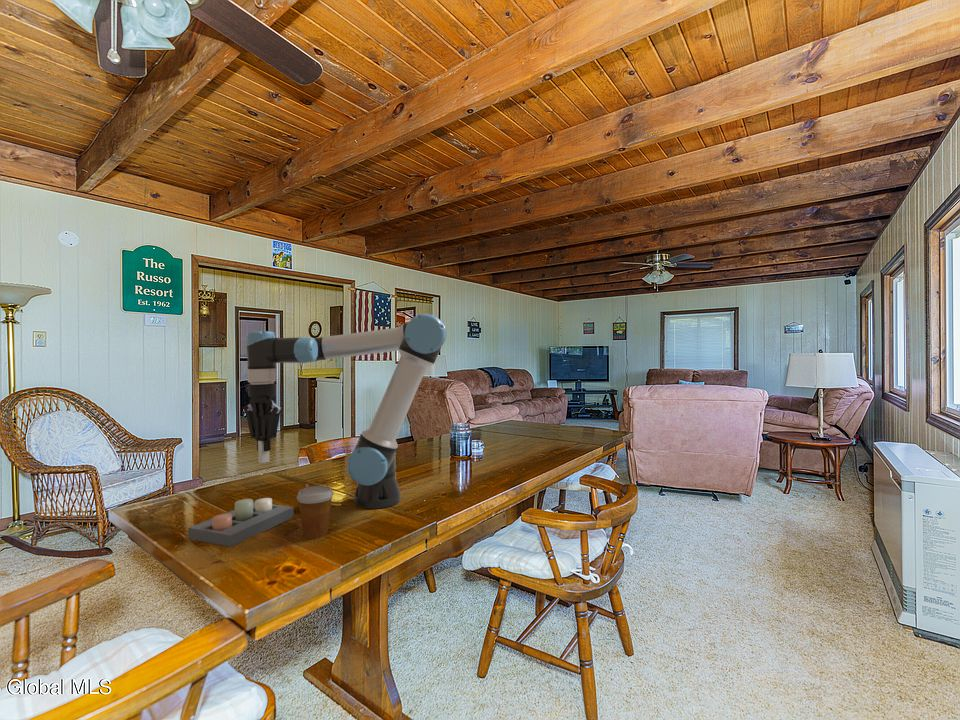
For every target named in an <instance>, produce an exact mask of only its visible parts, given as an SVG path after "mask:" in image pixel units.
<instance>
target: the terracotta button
mask: <svg viewBox="0 0 960 720" xmlns="http://www.w3.org/2000/svg"><path fill="white" fill-rule="evenodd" d="M211 519H212V528H213V530H217V531H222V530H225V529H227V528H229V527H232V514H225V513H220V514H216V515H214V516H212V518H211Z"/></svg>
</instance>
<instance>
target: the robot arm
mask: <svg viewBox="0 0 960 720" xmlns="http://www.w3.org/2000/svg"><path fill="white" fill-rule="evenodd" d="M246 337H247V338H246V355H247V356H246V357H247V358H246V359H247V383H249V384H248V385H247V394H248V395H247V396H248V397H249V398H250V400H249V404H247V405H244V406H243V407H242V409H243V412H244V413H245V415H246V416H245V417H246V420H247V425H248V430H249V435H250V438H251V439H255V441H256V450H257V452H258V453H257V455H258V456H257V459H258V461H257V462H258V463H259V464H264V463H267V462H270V461H271V460H270V451H271V440H272V439H274V438H276V437H277V434H278V426H279V422H280V416H281V413H282V411H283V407H282V406H278V404H277V403H276V402H277V401H276V399H275V396H276V395H277V384H276V376H277V375H276V373H277V371H276V368H277V367H276V366H277V365H276V364H280V363H281V364H282V363H283V364H287V363H288V364H290V363H291V364H292V363H293V364H296V363H299V364H307V363H314V362H315V363H316V362H318V361H325V360H332V359H333V360H334V359H341V358H342V359H343V358H350V357H356V356H357V357H358V356H365V355H373V354H381V353H389V352H397V351H399V355H400V358H399V359H398V362H397V364H396V367H395V369H394V371H393V373H392V376H391V377H390V381H388V385H387V387H386V389H385V392H384V394H383V396H382V398H381V401H380V403H379V406H378V408H377V411H376V412H375V414H374V416H373V419H372V421H371V424H370V426H369V428H367V429H366V430H364V431H362V432H361V433H360V434H359V438H358V440H357V443H356V445H355V447H354V449H353V451H351V453H350V454H349V456H348V459H347V463H346V469H347V472H348V475H349V477H350V478H351V479H352V480H353V481H354V482H355V483H357V487H356V488H355V489H356V490H355V493H354V497H353V499H354V500H353V501H354V502H353V503H354V505H355V506H357V507H359V508H364V509H383V508H389V507H392V506H394V505H397V504H399V503H400V502H401V501H402V500H401V499H402V497H401V496H402V494H401V493H402V492H401V490H400V487H399V484H398V481H397V477H396V453H397V452H396V451H397V450H398V447H399V445H398V441H397V437H398V435H399V432H400V430H401V428H402V426H403V423H404V421H405V418H406V416H407V415H408V412H409V410H410V407H411V404H412V403H413V400H414V399H415V396H416V393H417V391H418V390H419V386H420V384H421V383H422V380H423V378H424V376H425V372H426V371H427V368H428V367H431V366H433V365H435V363H436V360H437V358H438V356H439V353H440V351H441V349H442V346H443V345H444V344H445V341H446V337H447V331H446V327H445V324H444V323H443V321H442V320H441V319H440V318H439V317H437V316H436V315H433V314H430V313H420V314H417V315H414V316H413V317H412V318H410V320H409V321H408V322H407V323H402V324H400V327H395V328H394V327H393V328H385V329H377V330H371V331H361V332H354V333H353V332H352V333H345V334H339V335H338V334H336V335H330V336H329V335H327V336H321V337H306V336H302V337H301V336H300V337H276V334H275V332H274V331H270V330H269V331H268V330H264V331H263V330H255V331H250V332H247V336H246Z"/></svg>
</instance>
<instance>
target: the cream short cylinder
mask: <svg viewBox="0 0 960 720" xmlns="http://www.w3.org/2000/svg"><path fill="white" fill-rule="evenodd" d="M254 502H255V512H260V513H265V512H267V511H269V510H272V504H273V498H271V497H263V498H258V499H256V500H255V501H254Z"/></svg>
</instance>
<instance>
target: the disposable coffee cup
mask: <svg viewBox="0 0 960 720" xmlns="http://www.w3.org/2000/svg"><path fill="white" fill-rule="evenodd" d="M303 488H304V487H303ZM303 488H301V489H302V490H301V489H299V490H298V493H297V495H296V501H297V500H298V501H297V503H298V502H299V503H298V507H299V514H300V520H301V528H302V535H303V537H304V538H305V539H310V540H311V539H319V538H322V537H325V536H326V535H327V534H328V532H329V526H330V525H329V524H330V516H331V508H332V499H333V496H334V493H335V492H333V490H332V489H333V488H332V487H331V486H327V485H314V486H310V487H307V488H304V489H303Z"/></svg>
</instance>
